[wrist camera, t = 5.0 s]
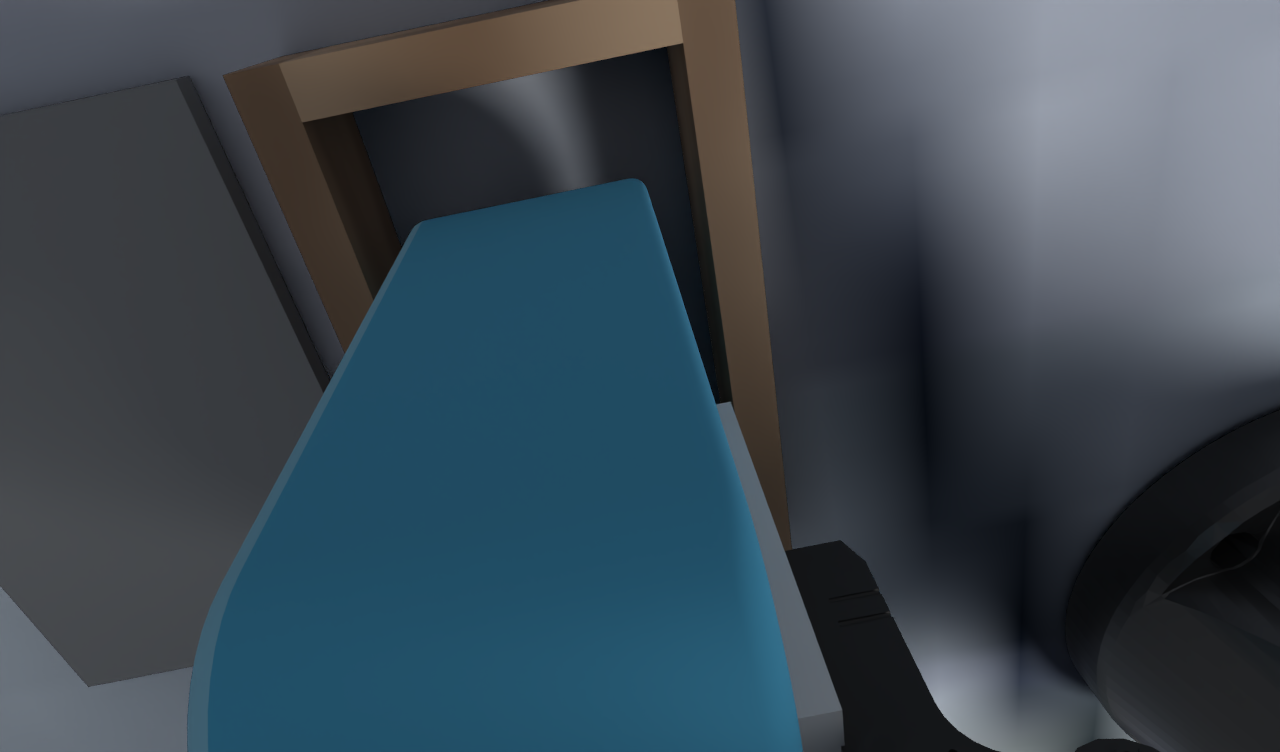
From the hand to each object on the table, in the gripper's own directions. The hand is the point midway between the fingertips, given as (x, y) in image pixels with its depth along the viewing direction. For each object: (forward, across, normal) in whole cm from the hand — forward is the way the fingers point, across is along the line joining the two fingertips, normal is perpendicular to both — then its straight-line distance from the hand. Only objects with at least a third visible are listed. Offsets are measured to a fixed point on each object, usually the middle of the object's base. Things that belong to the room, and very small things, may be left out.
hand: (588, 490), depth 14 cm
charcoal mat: (+6, +12, 0) cm, 13 cm away
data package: (+4, 0, +1) cm, 4 cm away
